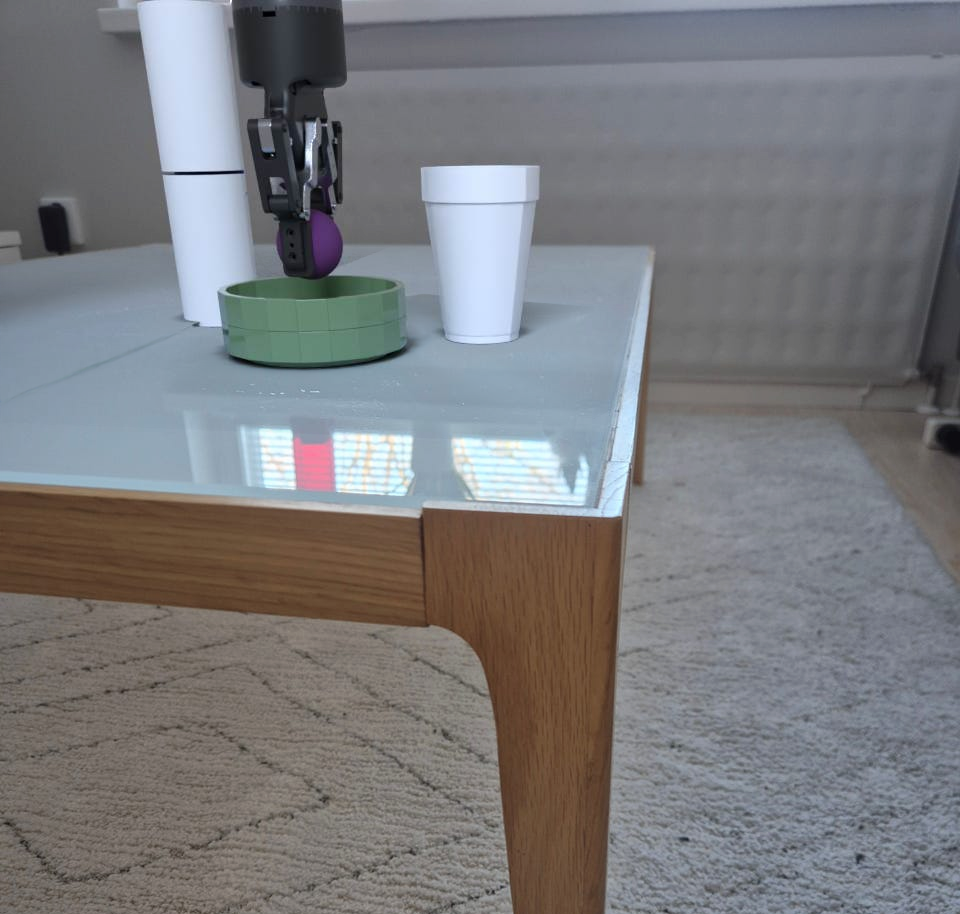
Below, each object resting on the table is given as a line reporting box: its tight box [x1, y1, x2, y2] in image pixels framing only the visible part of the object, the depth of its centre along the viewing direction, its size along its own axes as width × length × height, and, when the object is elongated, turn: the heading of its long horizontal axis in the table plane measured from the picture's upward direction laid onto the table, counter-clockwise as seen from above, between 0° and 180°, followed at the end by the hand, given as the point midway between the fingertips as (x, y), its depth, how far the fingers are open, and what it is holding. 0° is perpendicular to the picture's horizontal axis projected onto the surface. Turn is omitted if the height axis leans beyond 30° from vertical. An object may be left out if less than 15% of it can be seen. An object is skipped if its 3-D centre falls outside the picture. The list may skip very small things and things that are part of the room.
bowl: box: [217, 274, 408, 369], centre depth 74 cm, size 14×14×5 cm
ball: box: [275, 209, 344, 280], centre depth 71 cm, size 5×5×5 cm
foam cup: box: [420, 164, 541, 345], centre depth 77 cm, size 10×9×13 cm
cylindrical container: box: [136, 0, 258, 328], centre depth 84 cm, size 7×7×25 cm
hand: (311, 270), depth 72 cm, fingers closed on ball, 5 cm apart
